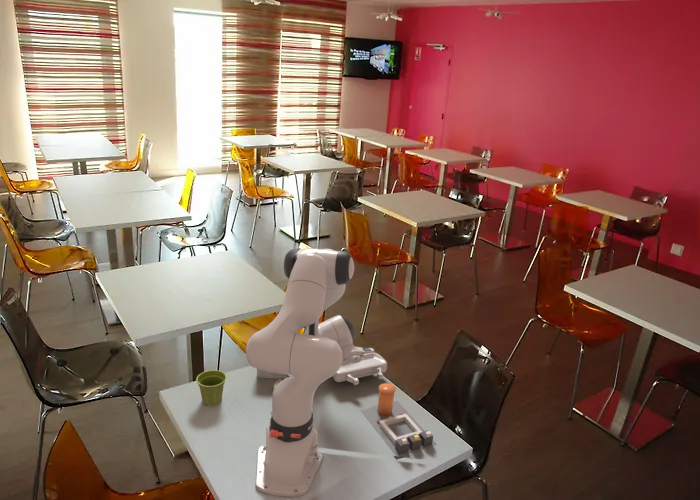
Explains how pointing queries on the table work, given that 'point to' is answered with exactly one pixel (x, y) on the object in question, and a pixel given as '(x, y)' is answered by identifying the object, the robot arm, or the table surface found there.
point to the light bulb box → (270, 374)
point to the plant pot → (211, 386)
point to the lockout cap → (385, 399)
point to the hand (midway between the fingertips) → (369, 380)
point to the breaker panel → (399, 430)
